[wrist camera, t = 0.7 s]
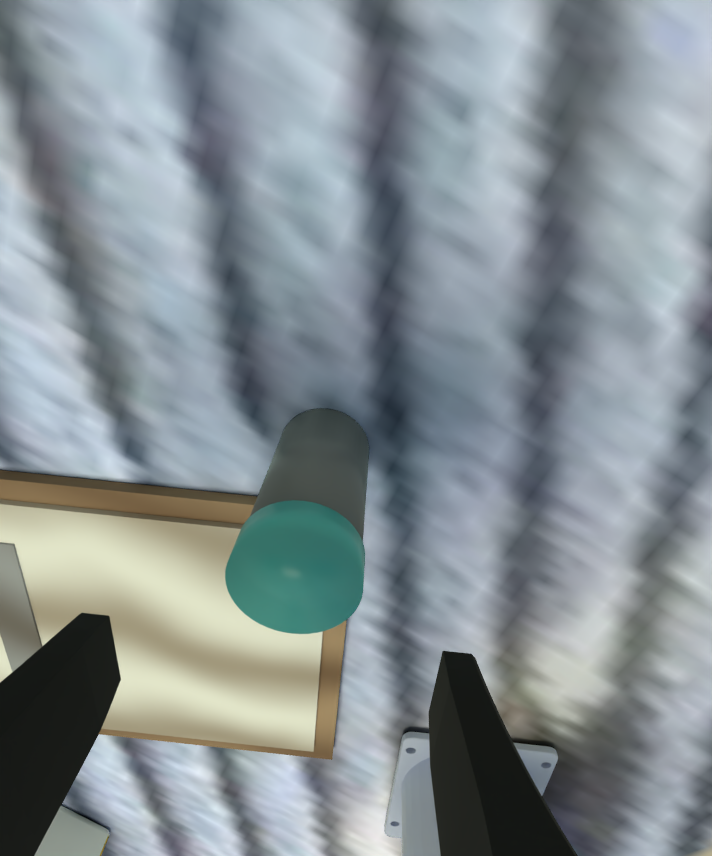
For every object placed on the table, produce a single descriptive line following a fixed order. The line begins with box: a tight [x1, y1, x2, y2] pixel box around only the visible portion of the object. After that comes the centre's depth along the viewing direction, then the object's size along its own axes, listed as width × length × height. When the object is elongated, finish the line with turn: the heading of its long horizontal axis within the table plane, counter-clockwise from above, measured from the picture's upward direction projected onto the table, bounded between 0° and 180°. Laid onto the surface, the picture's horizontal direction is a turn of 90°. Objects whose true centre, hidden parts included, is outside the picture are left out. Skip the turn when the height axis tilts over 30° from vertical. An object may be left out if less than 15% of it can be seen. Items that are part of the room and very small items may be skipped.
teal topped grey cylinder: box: [225, 408, 369, 634], centre depth 17 cm, size 4×4×7 cm
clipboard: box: [0, 470, 346, 760], centre depth 24 cm, size 16×20×1 cm
